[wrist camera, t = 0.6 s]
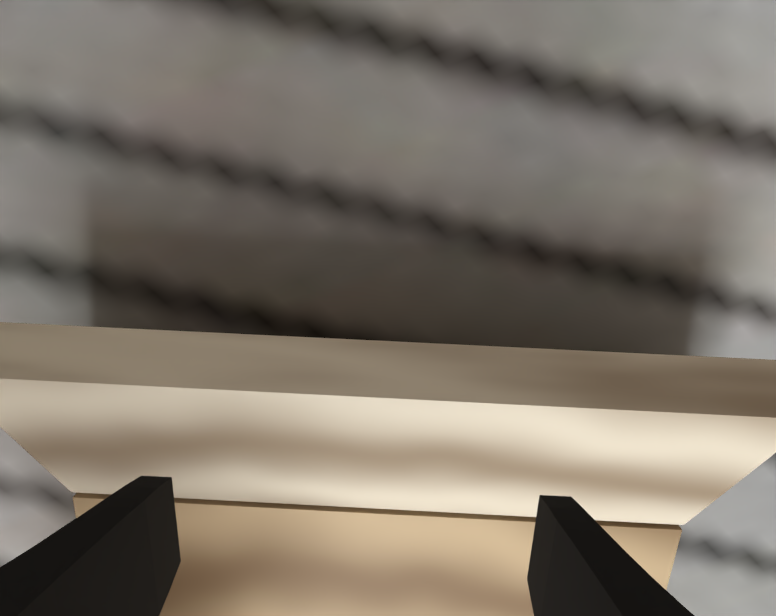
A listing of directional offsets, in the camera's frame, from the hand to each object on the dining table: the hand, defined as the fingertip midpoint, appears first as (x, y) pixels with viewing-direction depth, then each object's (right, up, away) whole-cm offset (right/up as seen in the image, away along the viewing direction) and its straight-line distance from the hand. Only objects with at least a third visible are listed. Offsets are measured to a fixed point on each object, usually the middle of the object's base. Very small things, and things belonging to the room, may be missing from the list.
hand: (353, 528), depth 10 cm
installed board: (0, -7, +13) cm, 15 cm away
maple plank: (0, +1, +8) cm, 8 cm away
